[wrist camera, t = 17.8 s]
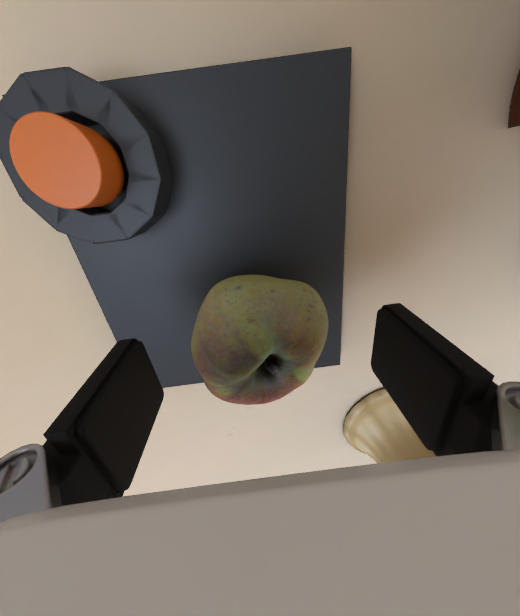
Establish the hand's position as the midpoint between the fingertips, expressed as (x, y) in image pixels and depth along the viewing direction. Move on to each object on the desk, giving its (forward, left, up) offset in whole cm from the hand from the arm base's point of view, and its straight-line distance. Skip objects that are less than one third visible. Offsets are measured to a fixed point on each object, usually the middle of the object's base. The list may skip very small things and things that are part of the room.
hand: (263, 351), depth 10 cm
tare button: (-7, -6, -3) cm, 10 cm away
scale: (-2, -2, -6) cm, 7 cm away
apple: (0, -1, -5) cm, 5 cm away
